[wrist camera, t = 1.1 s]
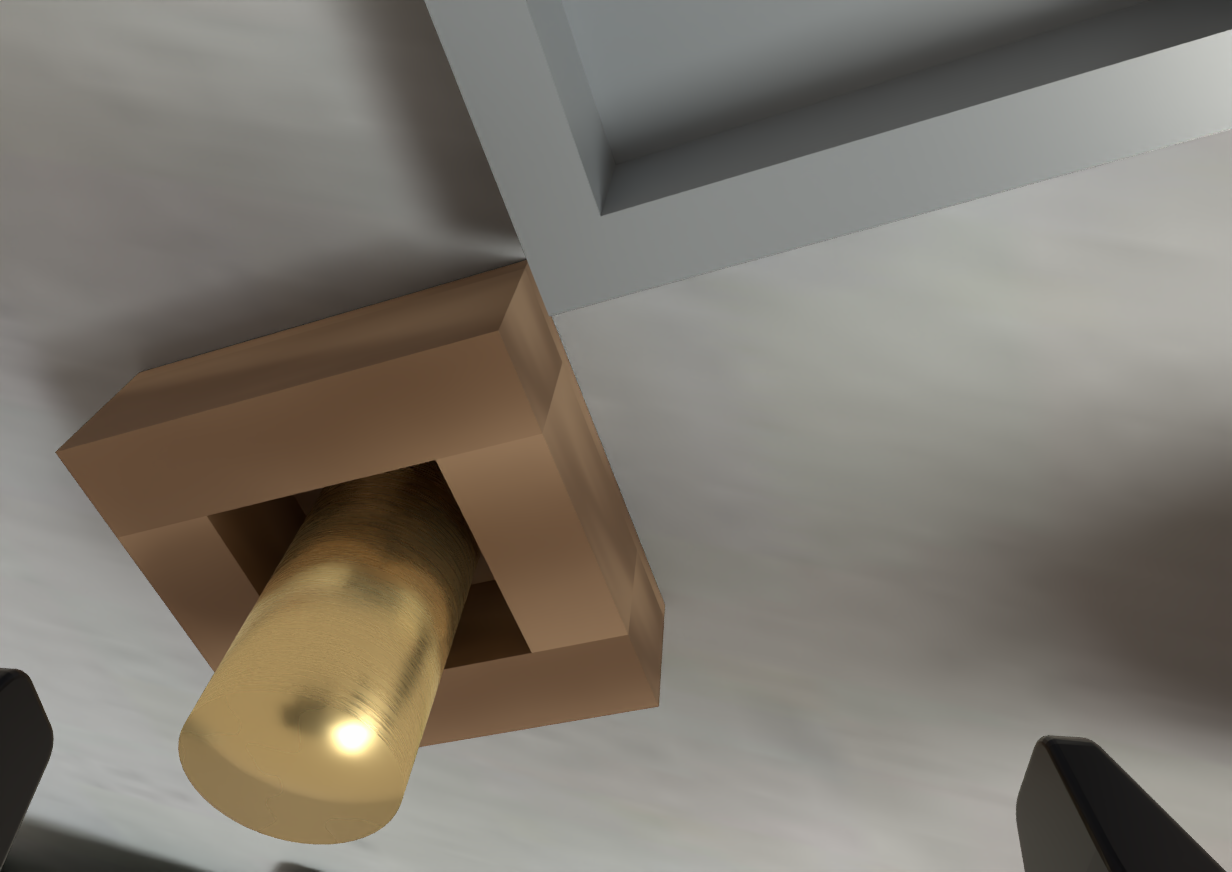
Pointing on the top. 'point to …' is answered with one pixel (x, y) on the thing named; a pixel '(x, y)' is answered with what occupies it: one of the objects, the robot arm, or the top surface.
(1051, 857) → the robot arm
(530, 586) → the walnut socket block
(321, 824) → the brass pin
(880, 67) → the grey tray
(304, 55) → the top surface
